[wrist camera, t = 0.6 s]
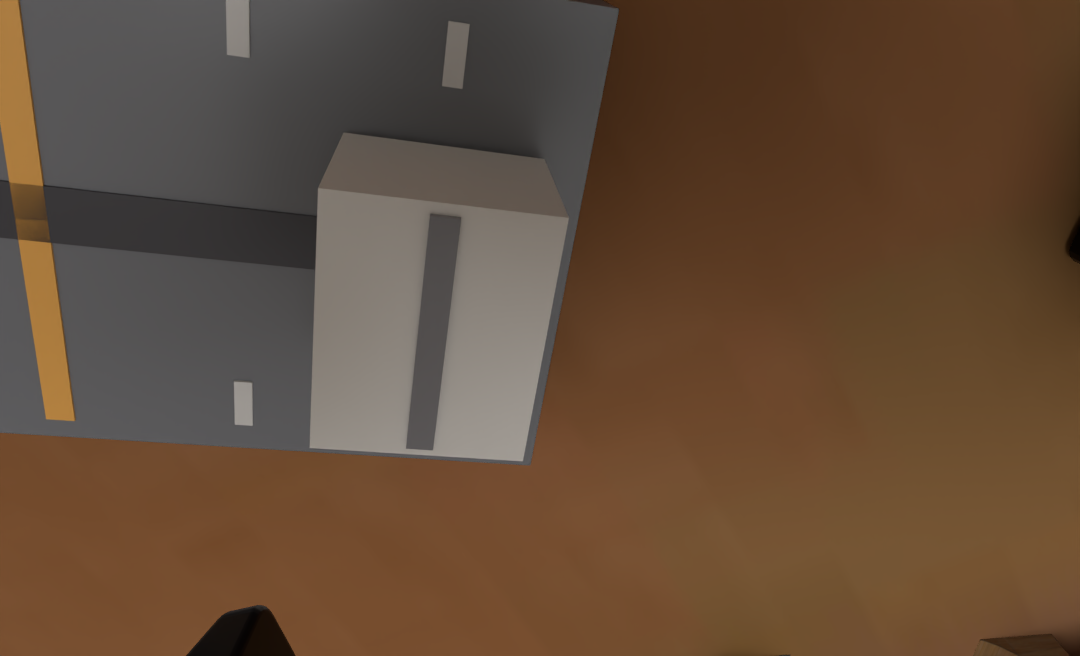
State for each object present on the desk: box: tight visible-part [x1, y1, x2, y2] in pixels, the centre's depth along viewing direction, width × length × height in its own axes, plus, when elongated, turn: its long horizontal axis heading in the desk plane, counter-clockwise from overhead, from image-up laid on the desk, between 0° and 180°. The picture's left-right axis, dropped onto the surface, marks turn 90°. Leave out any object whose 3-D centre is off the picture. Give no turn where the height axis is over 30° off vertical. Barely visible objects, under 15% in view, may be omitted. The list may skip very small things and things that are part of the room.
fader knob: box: [310, 133, 569, 461], centre depth 15 cm, size 4×5×4 cm
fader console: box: [0, 0, 619, 465], centre depth 17 cm, size 18×11×3 cm, turn 80°
